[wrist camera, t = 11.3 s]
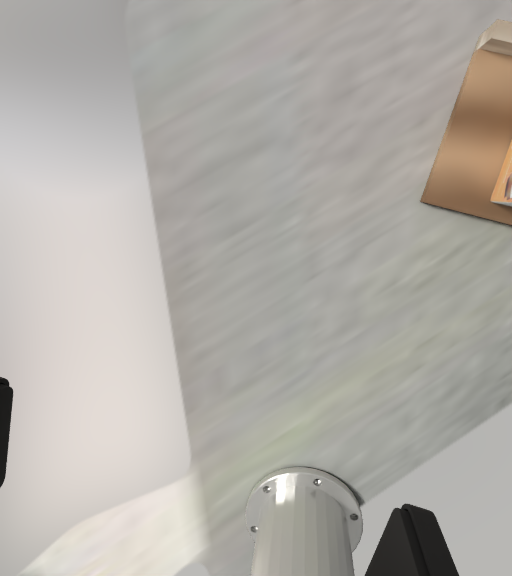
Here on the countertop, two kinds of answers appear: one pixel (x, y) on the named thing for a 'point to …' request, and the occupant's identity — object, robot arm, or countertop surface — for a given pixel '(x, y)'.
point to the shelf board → (477, 132)
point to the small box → (504, 182)
